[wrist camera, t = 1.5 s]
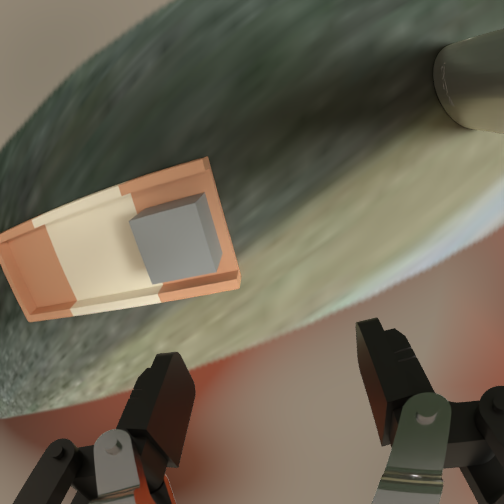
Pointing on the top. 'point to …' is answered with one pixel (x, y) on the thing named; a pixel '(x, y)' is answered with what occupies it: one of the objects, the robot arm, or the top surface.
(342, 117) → the top surface
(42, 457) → the robot arm
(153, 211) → the slate block
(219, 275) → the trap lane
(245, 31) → the top surface
